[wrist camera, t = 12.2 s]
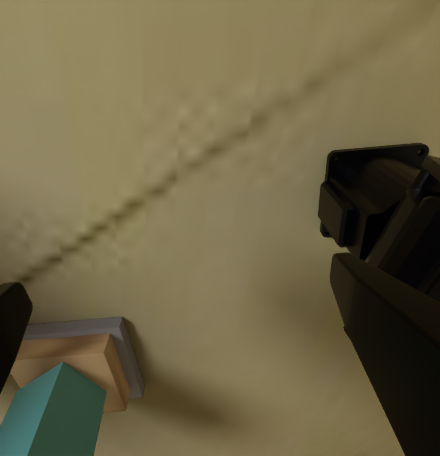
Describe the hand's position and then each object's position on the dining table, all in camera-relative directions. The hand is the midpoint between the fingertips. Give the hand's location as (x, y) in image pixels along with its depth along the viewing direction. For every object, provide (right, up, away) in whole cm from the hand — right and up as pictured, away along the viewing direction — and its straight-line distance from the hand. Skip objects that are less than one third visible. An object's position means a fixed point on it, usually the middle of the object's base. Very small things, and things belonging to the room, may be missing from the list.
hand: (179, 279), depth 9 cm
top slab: (-12, -11, +20) cm, 25 cm away
